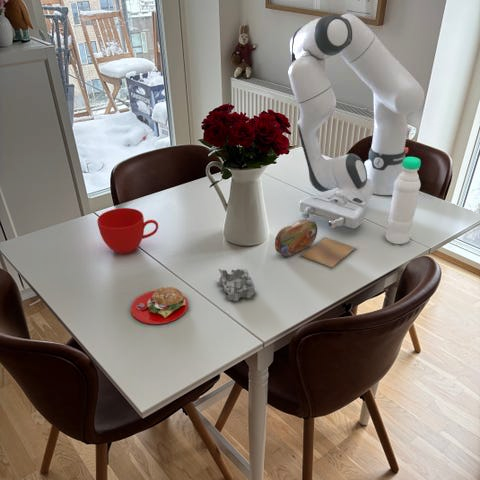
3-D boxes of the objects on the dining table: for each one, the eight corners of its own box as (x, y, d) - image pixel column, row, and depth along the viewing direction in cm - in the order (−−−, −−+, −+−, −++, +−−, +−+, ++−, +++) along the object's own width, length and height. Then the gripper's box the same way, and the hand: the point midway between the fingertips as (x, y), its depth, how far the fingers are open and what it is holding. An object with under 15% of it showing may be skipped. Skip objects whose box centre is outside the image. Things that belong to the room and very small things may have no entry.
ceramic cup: (159, 258, 144) (155, 227, 138) (99, 260, 143) (93, 229, 137) (162, 236, 154) (158, 206, 149) (106, 238, 154) (101, 208, 148)
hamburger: (161, 284, 133) (159, 265, 129) (199, 305, 125) (198, 285, 122) (119, 309, 124) (115, 289, 120) (157, 332, 116) (154, 312, 113)
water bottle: (407, 234, 154) (422, 154, 139) (411, 245, 148) (428, 163, 134) (383, 233, 154) (396, 153, 140) (386, 244, 148) (401, 163, 134)
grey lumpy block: (217, 280, 134) (217, 267, 132) (244, 276, 136) (244, 263, 133) (228, 303, 125) (227, 289, 123) (256, 298, 127) (256, 284, 125)
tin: (280, 260, 142) (281, 234, 137) (272, 256, 144) (273, 230, 139) (317, 243, 150) (319, 218, 145) (309, 239, 152) (311, 214, 147)
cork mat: (325, 238, 152) (325, 237, 152) (355, 249, 146) (355, 248, 146) (301, 256, 144) (301, 255, 143) (331, 268, 138) (331, 266, 138)
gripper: (313, 187, 163) (289, 201, 155) (370, 204, 153) (348, 220, 144) (312, 204, 167) (288, 220, 158) (368, 222, 156) (345, 239, 147)
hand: (317, 220), depth 151 cm, fingers open, 8 cm apart
